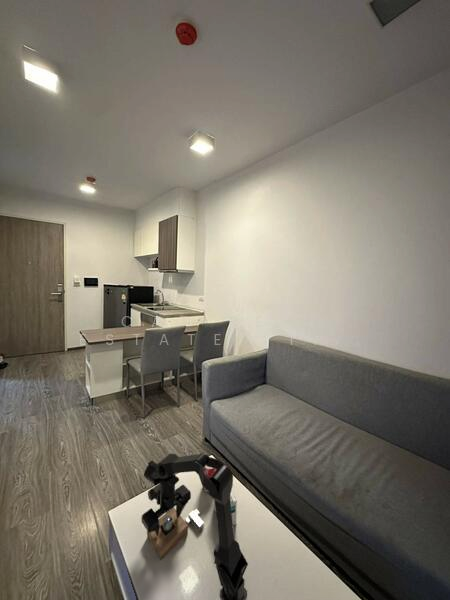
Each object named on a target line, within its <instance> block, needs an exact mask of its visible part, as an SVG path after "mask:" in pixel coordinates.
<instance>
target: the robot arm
mask: <svg viewBox="0 0 450 600" xmlns="http://www.w3.org/2000/svg"><path fill="white" fill-rule="evenodd" d="M205 466H208V467H212V468H216V469H217V470H216V471H215V472H214V473H213V474H212V476H211V477H210V478H208V477H207V476H206V475H205V472H204V470H203V468H204V467H205ZM191 472H195V473H196V474H197V475H198V477H199V480H200V483H201V486H202V485H203V486H204V487H205V488H206V489H207V490H208V491H209V492H208V495H209V497H210V498H211V499H212V500H213V502H214V501H215V508H216V511H215V514H216V523H217V525H216V526H217V533H218V543H217V544H216V546H215V548H213V549H214V550H213V557H214V562H213V563H214V565H215V568H216V571H217V576H218V580H219V584H220V586H221V588H220V591H219V594H220V596H221V597H222V598H223V600H244V599H245V598H246V596H247V595H248V590H247V589H246V588H245V579H244V577H243V576H244V575H245V572H246V570H247V568H248V566H249V563H248V561H247V559H246V557H245V556H244V554H243V553H242V550H241V547H240V543H239V542H238V541H237V540H236V539H235V534H234V525H233V523H232V513H231V504H230V494H231V490H232V489H233V485H234V482H233V481H234V475H233V471H232V470H231V469H230V467H229V466H228V465H226V463H224V462H223V461H222V460H221V459H218V458H215V457H211V456H209V455H208V454H207V453H206V452H201V453H199V454H198V453H196V454H192V455H191V454H190V455H184V456H183V455H182V456H178V455H177V454H176V453H168V454H167V455H166V456H165V457H164V458H162V459H161V460H160V461H159V462H157V463H156V462H155V461H154V460H153V459H152V460H150V461H149V462H148V463H147V466H146V468H145V469H144V473H143V477H144V479H146V480H147V481H148V482H150V483H152V485H154V487H152V488H150V489H149V490H148V491H147V497H148V499H149V500H150V501H153V500H156V505H158V506H159V508H157V510H154V509H153V508H152V507H151V508H149V509H148V510H147V511H145V512H144V513H142V514H141V523H142V524H143V525H142V526H144V528H145V529H146V532H147V531H148V532H151V531H152V532H153V531H155V533H156V535H157V536H158V534H159V527H160V525H159V519H160V518H161V517H162V516H163V515H165V514H166V513H167V512H168V511H170V510H171V509H172V508H173V507H174V508H175V510H176V516H177V518H179V516H181V515H182V512H183V510H185V508H186V506H187V504H188V503H189V501H190V500H192V493H191V491H190V490H189V489H188V487H187V486H185V485H184V484H181V485H180V486H179V487H177V488H176V484H177V483H178V482H179V481H180V479H179V477H178V476H176V474H179V473H191ZM203 486H202V487H203ZM232 491H233V490H232ZM215 508H214V509H215Z"/></svg>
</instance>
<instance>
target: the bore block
mask: <svg viewBox="0 0 450 600" xmlns="http://www.w3.org/2000/svg"><path fill="white" fill-rule="evenodd" d="M168 515H170V516H171V517H172V531H171V532H170V533H168V534H167V535H166V536H165V534H164V533H163V519H164V517H165V516H168ZM158 519H159V525H160V527H159V534H158V536H157V535H156V533H155V531H153V532H152V531H151V532H148V531H147V530H146V533H147V534H146V536H147V537H146V538H147V540H148V542H149V543H150V545H151V546H152V548H153V550H154V552H155V553H156V556H158V558H159V560H160V561H161V560H162V559H164V557H165V556H166V555H167V554H169V553H170V552H171V551H172V550H173V549H174V548H175V547H176V546H177V545H178V544H179V543H180V542H182V540H183V539H185V538H186V537H187V535H188V533H189V526H188V525H189V524H187V522H186V521H185V519H184V518H183V517H182V516H181V515H180V516H179V518H177V516H176V507H175V506H174V507H173V508H172V509H171V510H169V511H168V512H167V513H165V514H163V515H162V516H161V517H160V518H158Z"/></svg>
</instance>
